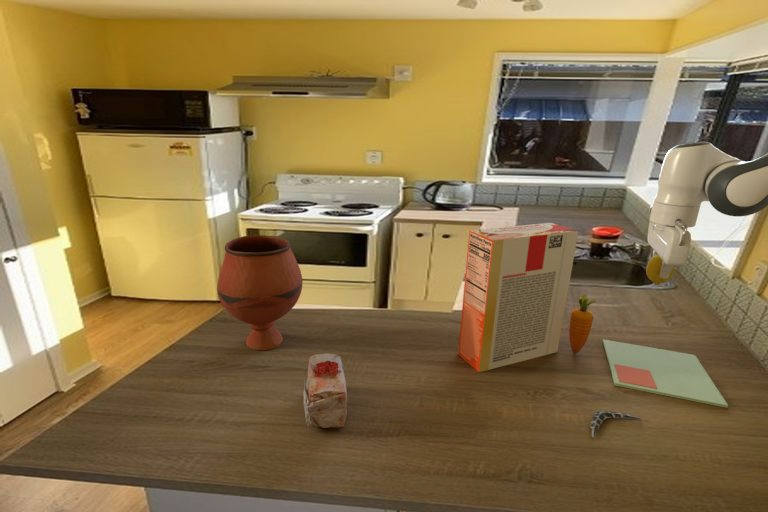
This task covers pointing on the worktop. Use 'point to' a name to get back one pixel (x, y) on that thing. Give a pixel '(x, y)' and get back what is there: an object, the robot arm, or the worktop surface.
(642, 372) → the mat
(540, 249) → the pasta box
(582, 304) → the carrot
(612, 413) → the patterned boomerang
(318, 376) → the food item
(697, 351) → the worktop surface
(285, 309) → the goblet
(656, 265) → the lemon
